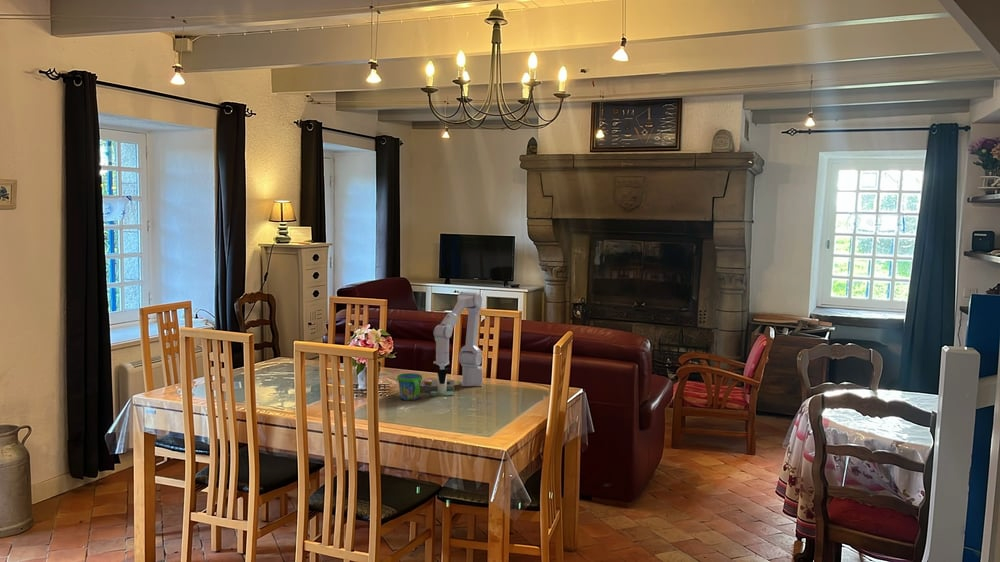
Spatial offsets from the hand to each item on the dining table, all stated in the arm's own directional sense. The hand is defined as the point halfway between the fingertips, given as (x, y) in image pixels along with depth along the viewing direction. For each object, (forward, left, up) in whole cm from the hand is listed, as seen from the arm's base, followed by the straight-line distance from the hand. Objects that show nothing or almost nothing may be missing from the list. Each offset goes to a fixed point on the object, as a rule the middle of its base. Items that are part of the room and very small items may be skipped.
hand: (442, 382), depth 327 cm
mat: (0, 0, -6) cm, 6 cm away
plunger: (+7, -11, -5) cm, 14 cm away
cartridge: (0, 0, -5) cm, 5 cm away
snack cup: (+14, +8, -6) cm, 17 cm away
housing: (+2, -11, -6) cm, 12 cm away
